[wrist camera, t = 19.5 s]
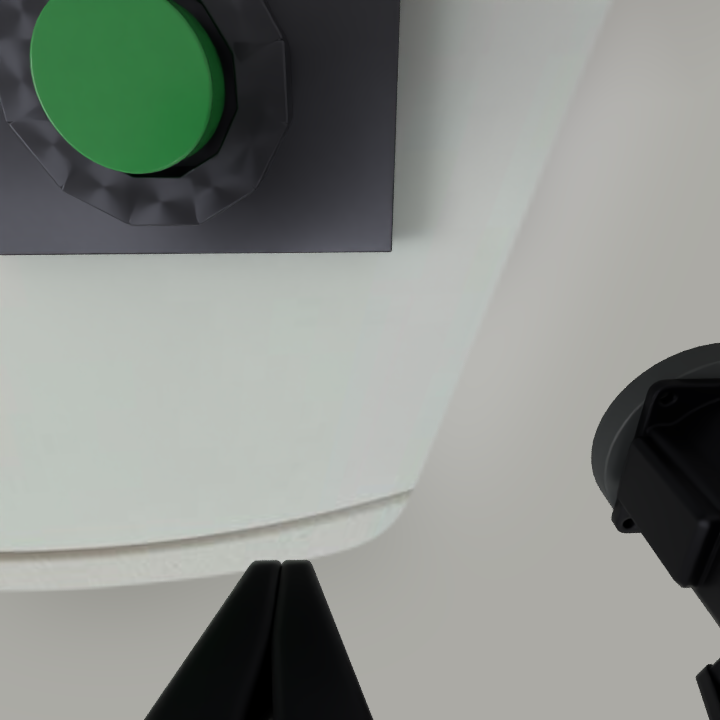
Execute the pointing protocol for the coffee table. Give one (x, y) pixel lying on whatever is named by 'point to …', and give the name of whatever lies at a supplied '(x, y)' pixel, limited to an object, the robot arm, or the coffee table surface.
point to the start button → (127, 80)
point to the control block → (224, 143)
